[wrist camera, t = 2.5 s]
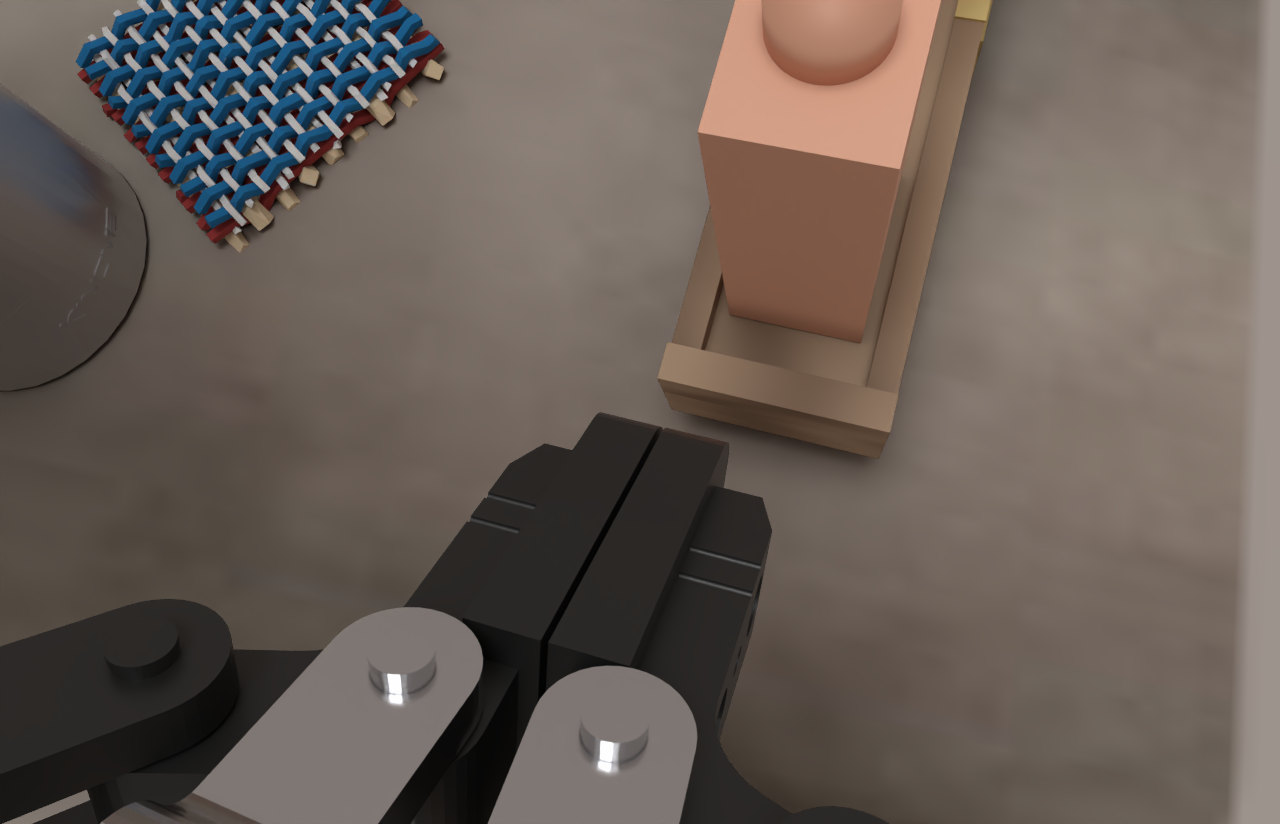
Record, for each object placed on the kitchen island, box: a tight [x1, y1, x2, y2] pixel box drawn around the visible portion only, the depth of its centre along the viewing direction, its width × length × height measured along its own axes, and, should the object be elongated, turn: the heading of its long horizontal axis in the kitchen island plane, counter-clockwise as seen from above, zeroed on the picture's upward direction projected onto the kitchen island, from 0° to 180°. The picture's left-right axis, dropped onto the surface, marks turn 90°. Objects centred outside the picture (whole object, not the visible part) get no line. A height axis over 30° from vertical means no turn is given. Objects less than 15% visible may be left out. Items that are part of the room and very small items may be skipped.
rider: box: [698, 0, 942, 343], centre depth 23 cm, size 4×5×11 cm
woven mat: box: [76, 0, 444, 253], centre depth 36 cm, size 10×11×2 cm
